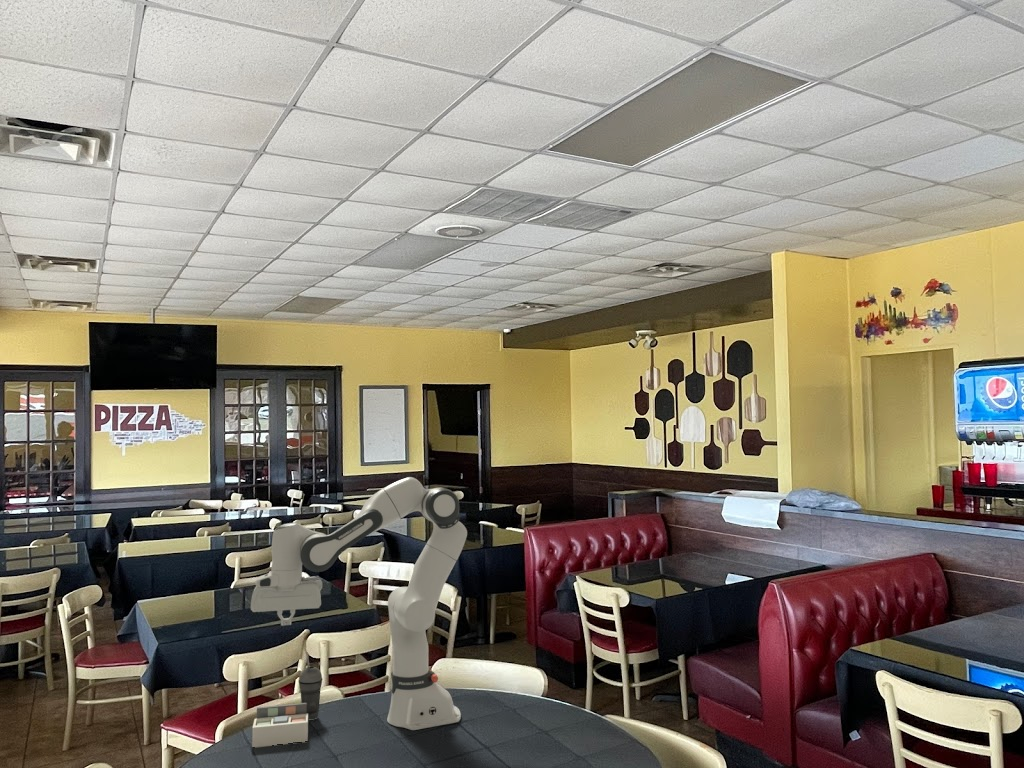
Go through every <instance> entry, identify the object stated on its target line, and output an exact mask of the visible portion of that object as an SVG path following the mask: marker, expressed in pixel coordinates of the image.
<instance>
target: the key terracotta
mask: <svg viewBox="0 0 1024 768" xmlns="http://www.w3.org/2000/svg"><path fill="white" fill-rule="evenodd" d="M297 721H305V718H302V719H292V722H297Z"/></svg>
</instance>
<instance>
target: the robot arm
mask: <svg viewBox="0 0 1024 768" xmlns="http://www.w3.org/2000/svg"><path fill="white" fill-rule="evenodd" d="M455 493H456V492H454V491H452V490H451V489H448V488H445V487H434V488H425V487H424V486H423V484H422V483H421V482H420V481H419V480H418V479H417V478H415V477H414V476H413V477H412V476H407V477H405V478H402V479H399V480H397V481H395V482H393V483H390V484H389V485H387V486H385V487H383V488H381V489H380V490H378V491H377V492H375V493H374V494H372V495H371V496H370V497H369V498H368V499H367V500H366V501H365V502H364V504H363V506H362V508H361V510H360V511H359V513H358V514H357V516H356V517H354V518H353V519H352V520H350V521H349V522H348V523H346V524H344V525H343V526H341V527H340V528H337V529H336V530H335V531H334V532H332V533H330V534H326V533H323V532H319V531H316V530H312V529H309V528H307V527H305V526H303V525H302V524H301V523H300V522H289V523H288V522H287V523H283V524H281V525H278V526H277V527H276V528H275V529H274V531H273V532H272V533H273V534H272V538H271V539H272V540H271V557H272V565H271V569H270V570H271V571H270V572H268V573H266V574H265V573H264V574H263V575H260V576H258V577H257V578H256V579H255V587H254V589H253V591H252V595H251V600H250V611H252V612H253V613H263V612H276V614H277V616H278V618H279V619H280V626H282V627H283V626H291V625H292V619H293V617H294V616H295V614H296V610H306V609H307V610H308V609H320V607H321V606H322V599H321V598H322V596H321V591H322V589H323V581H322V580H323V579H321V578H319V577H318V576H303V566H304V568H305V569H306V570H308V571H311V572H313V573H320V572H321V573H322V572H325V571H326V570H328V569H329V568H331V567H332V566H333V565H334V564H335V562H336V560H337V559H338V558H339V557H340V556H341V554H342V553H343V552H345V551H346V550H348V549H349V548H350V547H353V546H354V545H355V544H357V543H358V542H360V541H361V540H363V539H365V538H366V537H368V536H369V535H371V534H372V533H375V532H377V531H379V530H382V529H385V528H386V527H388V526H390V525H392V524H394V523H397V522H398V521H399V520H401V519H402V518H404V517H406V516H407V515H409V514H411V513H413V512H417V513H418V514H419V515H421V517H422V518H423V519H425V520H427V521H429V522H431V523H432V524H433V527H432V529H433V530H432V532H431V535H430V537H429V539H428V540H427V542H426V544H425V546H424V548H422V551H421V553H420V555H419V556H418V558H417V559H416V562H415V564H414V565H413V569H412V575H411V577H410V580H409V582H408V586H401V587H397V588H395V589H394V590H393V591H392V592H391V593H389V596H388V599H387V608H388V619H389V629H390V638H391V645H392V647H391V648H392V672H391V674H390V692H391V698H390V706H389V710H388V715H387V719H386V721H387V723H388V724H389V725H392V726H394V727H398V728H405V729H408V730H410V731H416V730H422V729H427V728H433V727H438V726H443V725H450V724H454V723H459V722H460V720H461V719H462V714H461V711H460V709H459V708H458V706H456V705H454V702H453V698H452V696H451V694H450V692H449V691H448V690H447V689H445V688H444V687H442V686H441V685H439V684H438V683H437V682H438V680H439V678H438V677H439V676H438V675H437V674H436V673H435V672H434V671H433V670H432V669H429V643H428V639H427V632H426V630H428V629H429V628H430V627H431V626H432V625H433V623H434V621H435V617H436V609H437V606H438V603H439V600H440V597H441V595H442V591H443V589H444V586H445V584H446V583H447V582H446V581H447V580H448V578H449V576H450V574H451V571H452V570H453V568H454V566H455V564H456V562H457V561H458V559H459V557H460V555H461V553H462V551H463V548H464V546H465V542H466V540H467V537H468V530H467V528H466V526H465V524H463V523H462V522H461V521H460V502H459V501H460V500H459V498H458V496H457V494H455ZM284 611H289V613H290V616H289V617H285V618H284V616H283V615H282V614H283V612H284Z"/></svg>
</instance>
